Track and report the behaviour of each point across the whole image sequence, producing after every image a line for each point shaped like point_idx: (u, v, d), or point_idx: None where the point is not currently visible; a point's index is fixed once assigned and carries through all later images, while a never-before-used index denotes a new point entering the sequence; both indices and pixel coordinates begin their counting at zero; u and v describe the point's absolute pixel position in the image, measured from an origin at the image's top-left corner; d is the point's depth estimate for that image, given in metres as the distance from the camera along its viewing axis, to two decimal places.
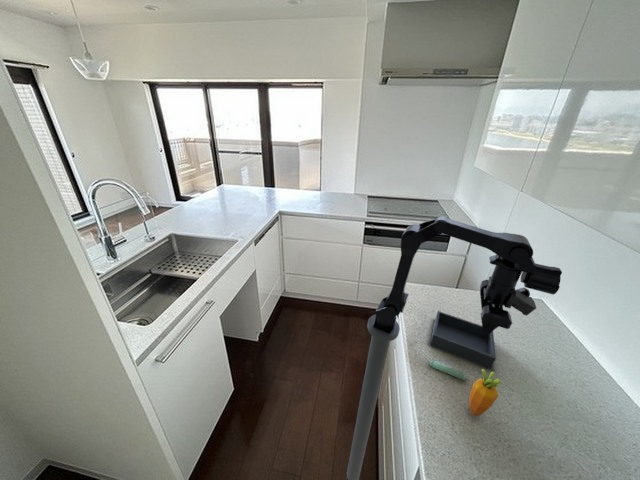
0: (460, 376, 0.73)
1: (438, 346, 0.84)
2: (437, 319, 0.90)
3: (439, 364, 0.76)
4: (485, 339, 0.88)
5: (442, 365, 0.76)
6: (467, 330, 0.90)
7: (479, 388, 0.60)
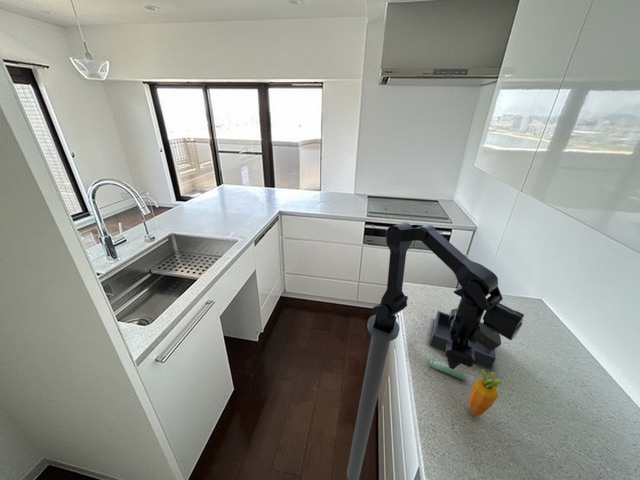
0: (460, 376, 0.73)
1: (438, 346, 0.84)
2: (437, 319, 0.90)
3: (439, 364, 0.76)
4: None
5: (442, 365, 0.76)
6: None
7: (479, 388, 0.60)
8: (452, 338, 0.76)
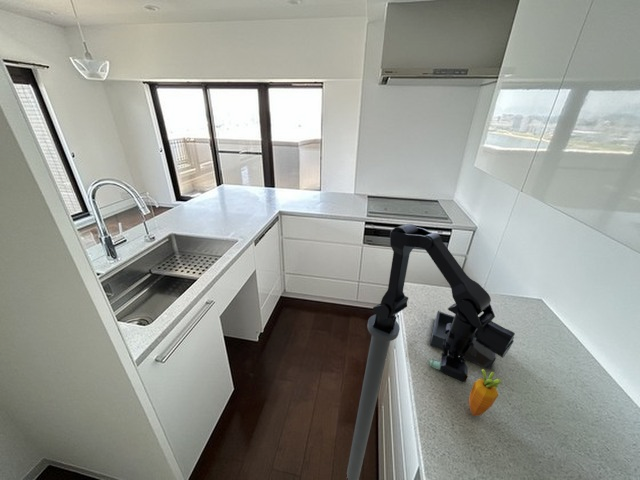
0: None
1: (438, 346, 0.84)
2: (437, 319, 0.90)
3: (439, 364, 0.76)
4: None
5: None
6: None
7: (479, 388, 0.60)
8: None
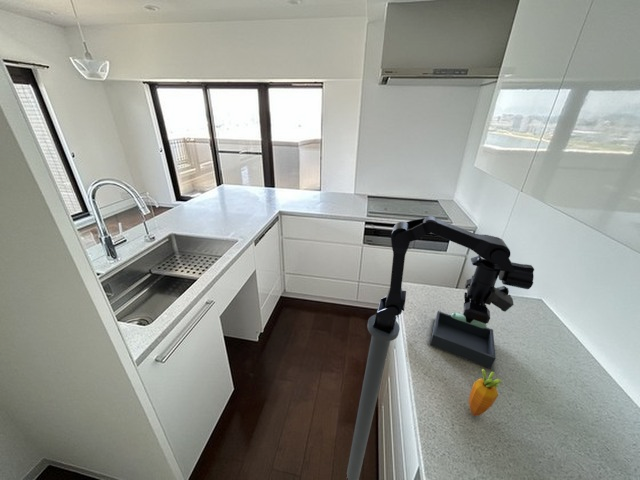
0: (480, 325, 0.79)
1: (438, 346, 0.84)
2: (437, 319, 0.90)
3: (460, 315, 0.82)
4: (485, 339, 0.88)
5: (463, 316, 0.82)
6: (467, 330, 0.90)
7: (479, 388, 0.60)
8: None
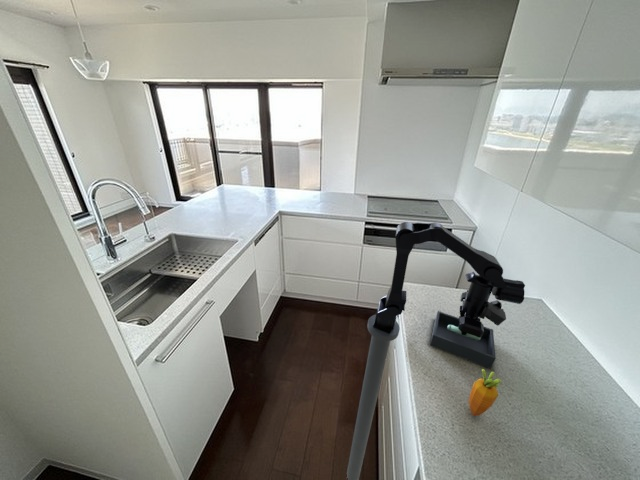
0: (475, 337, 0.83)
1: (438, 346, 0.84)
2: (437, 319, 0.90)
3: (456, 327, 0.85)
4: (485, 339, 0.88)
5: None
6: None
7: (479, 388, 0.60)
8: None
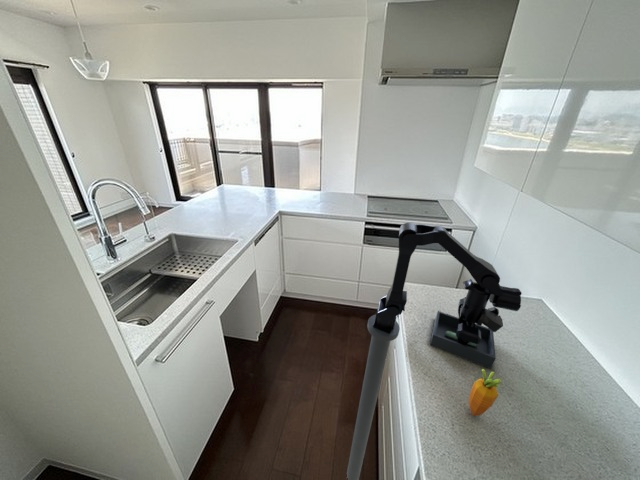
0: (472, 343, 0.84)
1: (438, 346, 0.84)
2: (437, 319, 0.90)
3: (454, 334, 0.87)
4: (485, 339, 0.88)
5: None
6: None
7: (479, 388, 0.60)
8: (461, 324, 0.89)
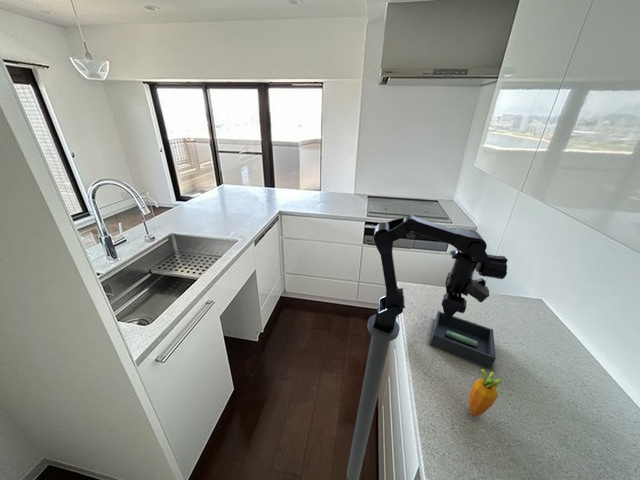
0: (472, 343, 0.84)
1: (438, 346, 0.84)
2: (437, 319, 0.90)
3: (454, 333, 0.87)
4: (485, 339, 0.88)
5: (456, 334, 0.87)
6: (467, 330, 0.90)
7: (479, 388, 0.60)
8: None
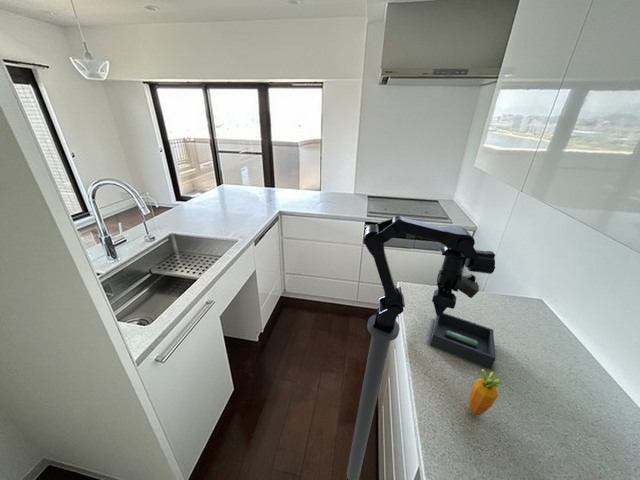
0: (473, 342, 0.84)
1: (438, 346, 0.84)
2: (437, 319, 0.90)
3: (454, 333, 0.87)
4: (485, 339, 0.88)
5: (456, 334, 0.87)
6: (467, 330, 0.90)
7: (479, 388, 0.60)
8: None
